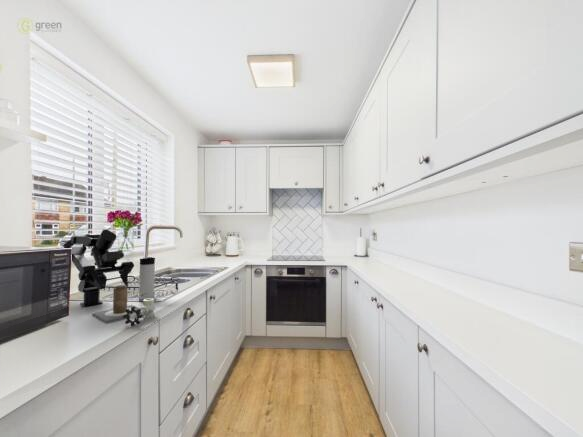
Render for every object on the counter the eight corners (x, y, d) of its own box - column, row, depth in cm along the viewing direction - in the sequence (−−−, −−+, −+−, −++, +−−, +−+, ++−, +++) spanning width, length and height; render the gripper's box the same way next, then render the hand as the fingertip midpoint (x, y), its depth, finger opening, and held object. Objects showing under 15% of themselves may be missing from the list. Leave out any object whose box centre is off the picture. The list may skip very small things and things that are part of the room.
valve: (143, 314, 105) (122, 326, 93) (143, 297, 105) (123, 307, 93) (159, 315, 104) (141, 326, 92) (160, 298, 105) (141, 307, 93)
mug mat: (92, 315, 103) (92, 312, 103) (131, 306, 115) (131, 304, 115) (106, 323, 95) (106, 320, 95) (147, 313, 106) (147, 310, 106)
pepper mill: (110, 313, 103) (110, 287, 103) (120, 309, 108) (120, 284, 108) (120, 314, 102) (120, 287, 102) (129, 310, 107) (130, 285, 107)
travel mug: (142, 302, 121) (143, 258, 122) (136, 300, 125) (137, 256, 126) (156, 299, 126) (157, 256, 126) (150, 297, 130) (151, 255, 131)
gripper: (82, 245, 103) (94, 277, 97) (132, 243, 119) (146, 270, 113) (73, 264, 107) (84, 296, 101) (123, 259, 123) (135, 287, 117)
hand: (114, 286), depth 108 cm, fingers open, 9 cm apart
